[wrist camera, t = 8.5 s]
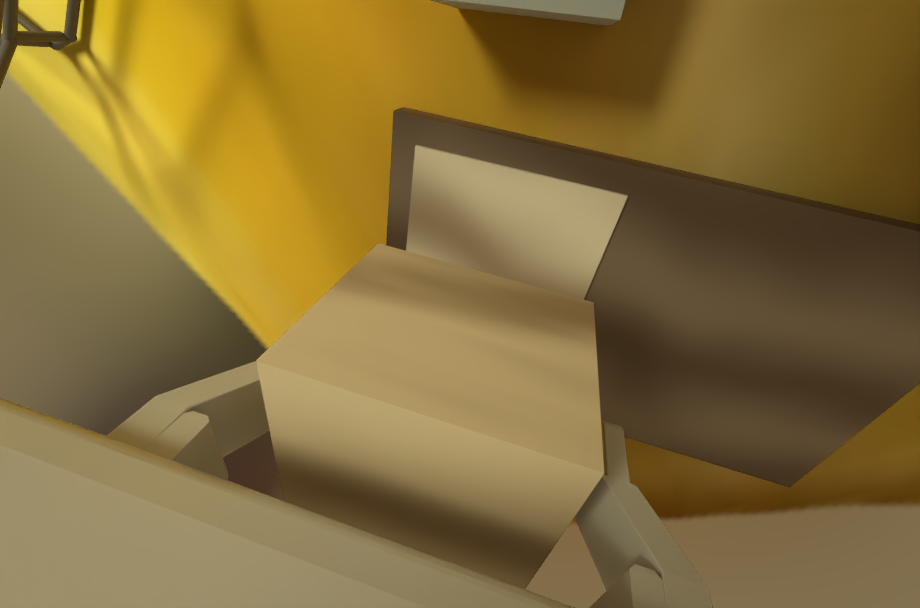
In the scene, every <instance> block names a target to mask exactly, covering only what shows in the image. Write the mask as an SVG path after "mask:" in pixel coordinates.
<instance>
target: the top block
mask: <svg viewBox="0 0 920 608" xmlns="http://www.w3.org/2000/svg"><path fill="white" fill-rule="evenodd" d="M431 1H435V2H438V3H441V4H445V5H448V6H452V7H455V8H459V9H468V10H476V11H485V12H493V13H502V14H510V15H519V16H528V17H536V18H545V19H553V20H562V21H570V22H579V23H587V24H596V25H605V26H610V25H612V24H614V23H616V22H618V21H619V20H620V19H621V16H622V12H623V8H624V5H625V1H626V0H431Z"/></svg>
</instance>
